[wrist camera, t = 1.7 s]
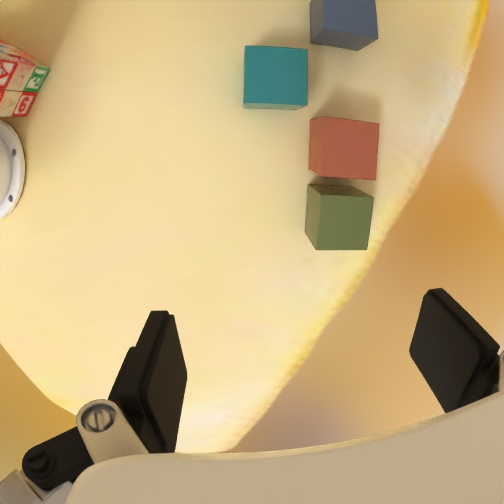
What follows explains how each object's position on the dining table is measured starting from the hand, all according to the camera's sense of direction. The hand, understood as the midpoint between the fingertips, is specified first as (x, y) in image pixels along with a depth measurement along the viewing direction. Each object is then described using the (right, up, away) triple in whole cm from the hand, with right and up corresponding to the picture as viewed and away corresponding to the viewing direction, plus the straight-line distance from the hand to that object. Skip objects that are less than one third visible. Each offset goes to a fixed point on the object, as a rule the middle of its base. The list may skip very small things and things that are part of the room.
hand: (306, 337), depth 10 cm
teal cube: (0, +19, +15) cm, 24 cm away
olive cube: (+6, +7, +20) cm, 22 cm away
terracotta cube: (+6, +13, +17) cm, 23 cm away
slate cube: (+6, +25, +13) cm, 29 cm away
